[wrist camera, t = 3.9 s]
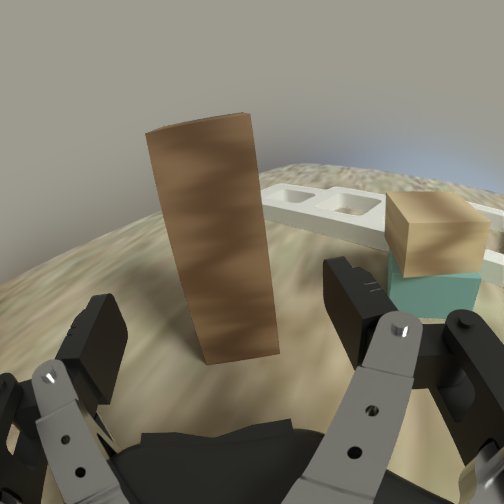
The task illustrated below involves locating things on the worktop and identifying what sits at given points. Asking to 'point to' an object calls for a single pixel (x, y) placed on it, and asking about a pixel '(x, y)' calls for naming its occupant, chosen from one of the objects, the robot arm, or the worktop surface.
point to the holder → (357, 218)
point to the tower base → (431, 292)
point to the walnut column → (218, 233)
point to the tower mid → (434, 233)
